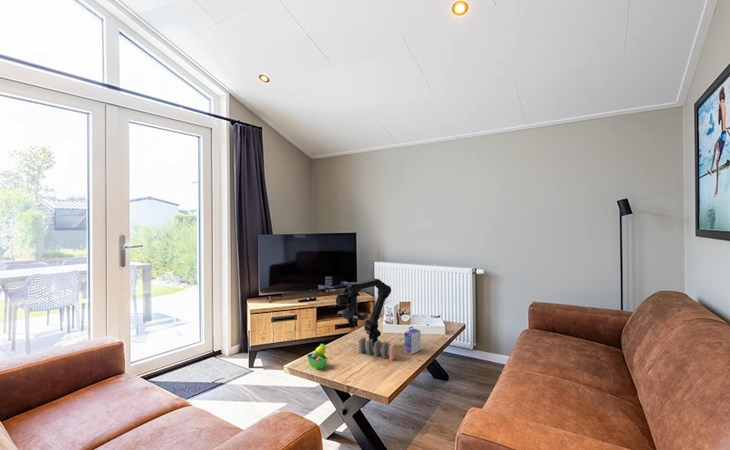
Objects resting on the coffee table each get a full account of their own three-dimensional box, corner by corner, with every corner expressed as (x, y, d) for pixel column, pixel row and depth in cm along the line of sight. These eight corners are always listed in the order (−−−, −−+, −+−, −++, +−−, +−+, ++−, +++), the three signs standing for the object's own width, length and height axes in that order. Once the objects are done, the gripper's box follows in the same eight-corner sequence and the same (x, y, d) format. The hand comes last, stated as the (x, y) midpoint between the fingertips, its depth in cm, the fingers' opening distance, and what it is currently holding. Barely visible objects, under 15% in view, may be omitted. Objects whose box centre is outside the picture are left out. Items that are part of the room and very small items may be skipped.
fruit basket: (306, 364, 188) (306, 343, 188) (320, 360, 193) (320, 340, 193) (315, 371, 179) (315, 350, 179) (330, 367, 184) (330, 346, 184)
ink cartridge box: (413, 347, 211) (413, 324, 211) (421, 350, 207) (421, 326, 207) (404, 352, 204) (404, 328, 204) (411, 354, 200) (411, 330, 200)
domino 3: (377, 353, 202) (377, 340, 202) (380, 354, 201) (380, 340, 201) (374, 356, 198) (373, 342, 198) (376, 357, 197) (376, 343, 197)
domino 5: (392, 357, 197) (392, 343, 197) (395, 357, 196) (395, 343, 196) (389, 360, 193) (389, 346, 192) (391, 360, 192) (391, 346, 192)
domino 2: (370, 351, 205) (370, 338, 204) (372, 352, 204) (372, 339, 204) (366, 354, 200) (366, 341, 200) (368, 355, 199) (368, 341, 199)
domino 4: (385, 355, 200) (385, 341, 199) (387, 355, 199) (387, 342, 199) (381, 358, 195) (381, 344, 195) (384, 358, 194) (384, 344, 194)
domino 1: (363, 350, 207) (363, 337, 207) (365, 350, 206) (365, 337, 206) (359, 353, 203) (359, 340, 203) (361, 353, 202) (361, 340, 202)
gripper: (332, 304, 205) (332, 330, 205) (358, 308, 196) (359, 335, 196) (342, 300, 215) (342, 325, 215) (368, 304, 206) (368, 329, 206)
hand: (352, 328), depth 208 cm, fingers closed
